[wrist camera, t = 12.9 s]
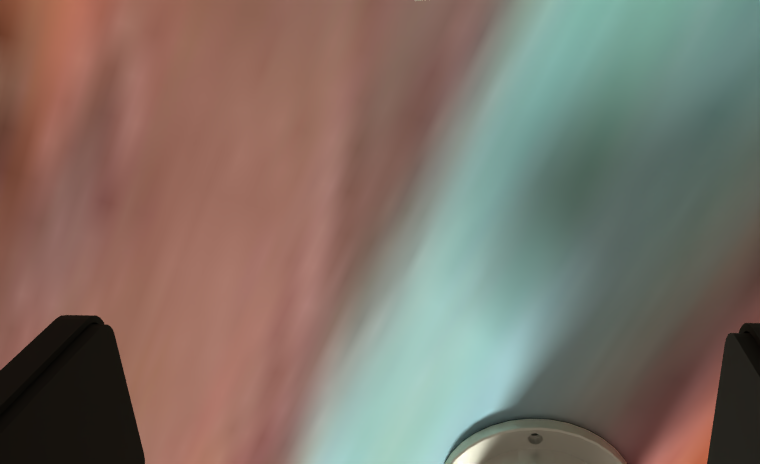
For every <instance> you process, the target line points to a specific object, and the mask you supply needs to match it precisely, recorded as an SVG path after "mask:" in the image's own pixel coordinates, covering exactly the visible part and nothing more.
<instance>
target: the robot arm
mask: <svg viewBox="0 0 760 464" xmlns="http://www.w3.org/2000/svg"><path fill="white" fill-rule="evenodd" d="M0 464H145V458H144V452H143V448H142V444H141V440H140V436H139V432H138V428H137V424H136V420H135V416H134V412H133V408H132V404H131V400H130V396H129V391H128V387H127V383H126V379H125V375H124V371H123V367H122V363H121V359H120V355H119V351H118V347H117V343H116V339H115V335H114V332H113V329H112V328H111V327H110V326H109V325H104V322H103V321H102V319H101V318H100V317H98V316H83V315H64V316H60V317H58V318H57V319H55V320H54V321H53V322H52V323H51V324H50V325H49V326H48V327H47V328H46V329H45V330H44V331H42V332H41V333H40V334H39V335H38V336H37V337H36V338H35V339H34V340H33V341H32V342H31V343H30V344H28V345H27V346H26V347H25V348H24V349H23V350H22V351H21V352H20V353H19V354H18V355H17V356H16V357H14V358H13V359H12V360H11V361H10V362H9V363H8V364H7V365H6V366H5V367H4V368H3V369H2V370H0ZM445 464H627V462H626V461H625V460H624V458H623V457H622V456H621V455H620V454H619V452H618V451H617V450H616V449H615V448H614V447H613V446H611V445H610V444H609V443H608V442H606V441H605V440H604V439H603V438H601V437H599V436H597V435H596V434H594V433H592V432H590V431H588V430H586V429H584V428H581V427H578V426H575V425H572V424H569V423H565V422H560V421H554V420H549V419H522V420H513V421H507V422H504V423H500V424H496V425H493V426H490V427H488V428H485V429H483V430H481V431H479V432H477V433H475V434H473V435H472V436H470V437H469V438H467V439H466V440H465V441H463V442H462V443H461V444H460V445H459V446H458V447H457V448H456V449H455V450H454V451H453V452H452V453H451V454H450V456H449V458H448V459H447V461H446V463H445ZM707 464H760V323H745V324H743V325H742V327H741V329H740V331H739V333H730V334H728V336H727V338H726V342H725V347H724V354H723V361H722V367H721V374H720V381H719V388H718V394H717V401H716V408H715V414H714V421H713V428H712V435H711V441H710V448H709V455H708V462H707Z"/></svg>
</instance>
